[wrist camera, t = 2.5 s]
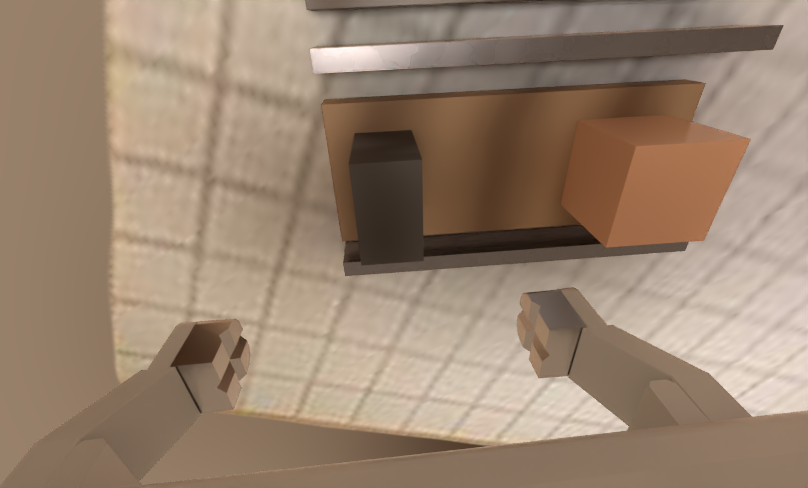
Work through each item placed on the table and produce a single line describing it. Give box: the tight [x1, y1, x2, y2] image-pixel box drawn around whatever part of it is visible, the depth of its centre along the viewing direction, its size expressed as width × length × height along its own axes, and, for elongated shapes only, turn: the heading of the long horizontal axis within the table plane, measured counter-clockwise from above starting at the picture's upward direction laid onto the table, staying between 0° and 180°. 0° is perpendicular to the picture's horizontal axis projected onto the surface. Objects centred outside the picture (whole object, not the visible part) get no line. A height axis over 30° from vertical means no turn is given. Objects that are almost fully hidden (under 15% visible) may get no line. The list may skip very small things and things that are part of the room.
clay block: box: [561, 115, 751, 248], centre depth 18 cm, size 5×5×5 cm
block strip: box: [321, 80, 706, 266], centre depth 19 cm, size 20×8×6 cm, turn 92°
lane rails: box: [310, 25, 783, 276], centre depth 18 cm, size 22×24×2 cm
